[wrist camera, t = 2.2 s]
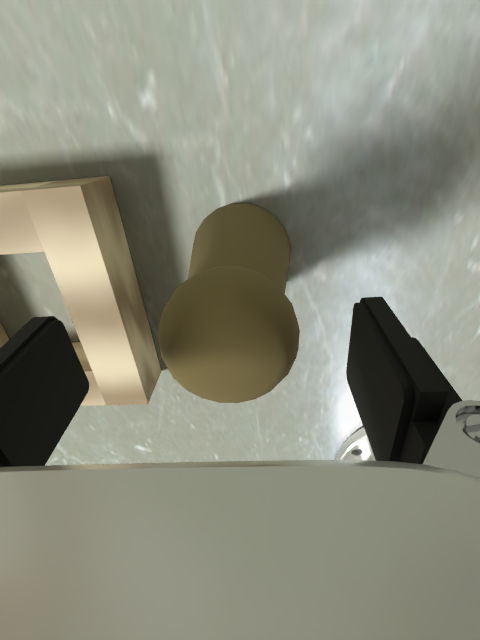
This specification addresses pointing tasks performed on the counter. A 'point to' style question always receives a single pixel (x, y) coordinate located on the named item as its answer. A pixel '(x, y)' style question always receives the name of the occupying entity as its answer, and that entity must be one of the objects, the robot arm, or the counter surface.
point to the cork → (232, 309)
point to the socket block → (87, 280)
